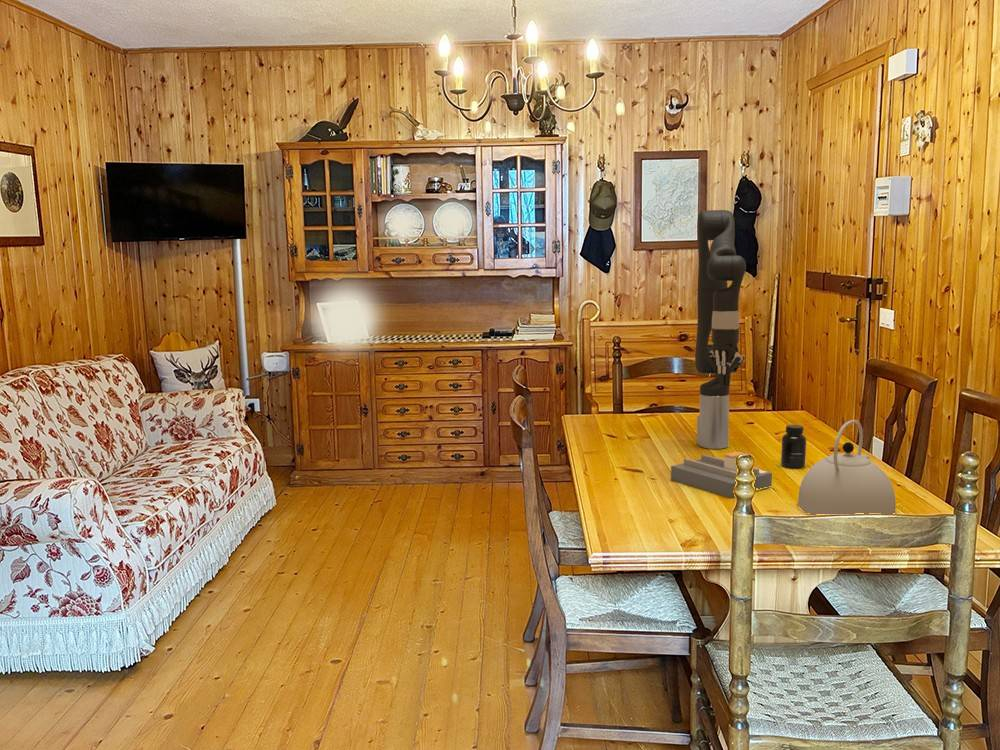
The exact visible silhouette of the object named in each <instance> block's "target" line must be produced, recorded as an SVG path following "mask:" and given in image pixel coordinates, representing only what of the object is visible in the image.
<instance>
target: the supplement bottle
mask: <svg viewBox="0 0 1000 750" xmlns="http://www.w3.org/2000/svg"><path fill="white" fill-rule="evenodd" d="M806 455H807V438H806V436H805V435H804V426H802V425H799V424H787V425H786V426H785V434H783V435H782V437H781V455H780V456H781V457H780V463H781V464H780V465H781V466H782V467H784V468H787V467H788V468H789V469H803V468H804V467H805V466H806ZM802 467H803V468H802ZM788 468H787V469H788Z"/></svg>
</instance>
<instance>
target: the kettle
mask: <svg viewBox="0 0 1000 750" xmlns="http://www.w3.org/2000/svg"><path fill="white" fill-rule="evenodd" d="M852 424H856V425H857V427H858V434H859V437H858V438H859V439H858V448H857V454H854V453H853V451H854V449H855V447H854V444H853V443H852V442H847V441H846V442H845V443H844V444H843V445H842V447H841V448H842V451H843V452H844V453H838V451H839V445H840V441H841V440H840V439H841V437H842V435H843V432H844V430H845V429H846V428H847V427H848V426H850V425H852ZM863 439H864V430H863V427H862V424H861V422H860V421H859V420H857V419H852V420H848V421H846V422H845V423H843V425H842V426H841V427H840V429H839V430H838V433H837V435H836V438H835V442H834V447H833V454H830V455H828V456H826V457H824V458H822V459H819V461H817V462H815V463H814V464H813V465H812V466H811V467H810V468H809V469H808V471H806V473H805V475H804V476H803V478H802V480H801V482H800V486H799V489H798V490H799V491H798V498H797V499H798V500H797V501H798V502H797V506H798V505H799V507H800V508H801V509H802V510H803V511H804V512H805V513H810V514H806V515H808V516H810V515H816V514H855V513H864V514H869V513H881V514H893V513H895V512H896V494H895V490H894V486H893V484H892V481H891V480H890V478H889V477H888V475H887V474H886V473H885V472H884V470H883V468H881V467H879V465H877V464H876V463H875V462H873V461H871V459H870V455H868V454H862V450H863V442H864V440H863ZM804 512H803V513H804ZM805 513H804V514H805Z"/></svg>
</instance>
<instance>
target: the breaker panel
mask: <svg viewBox="0 0 1000 750" xmlns="http://www.w3.org/2000/svg"><path fill="white" fill-rule="evenodd" d="M700 456H701V457H700V458H699V459H690V458H683V462H682V463H679V464H673V465H671V466H670V481H674V482H677V483H681V484H683V485H687V486H689V487H694V488H696V489H697V488H698V489H700V490H702V491H707V492H709V493H713V494H716V495H719V496H722V497H726V498H729V499H735V497H734V493H733V490H734V487H735V484H736V481H735V476H736V474H737V472H734V471H731V470H727V469H724V458H723V459H722V458H719V457H716V456H711V455H709V454H708V455H707V454H705V453H704V454H701V455H700ZM753 472H754V475H755V477H756V480H755V483H754V487H755V490H756V488H758V489H760V488H764V487H769V486H772V484H773V481H772V480H773V479H772V478H773V472H770V471H766V470H764V469H763V470H762V469H760V468H757V467H754V469H753Z"/></svg>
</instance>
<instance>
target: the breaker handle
mask: <svg viewBox="0 0 1000 750" xmlns="http://www.w3.org/2000/svg"><path fill="white" fill-rule="evenodd" d="M743 454H746V453H745V452H740V451H733V452H730V453H729V452H728V453H725V454H724V455H723V456H724V457H723V460H724V469H727V470H731V471H734V472H737V467H736V463H735V461H736V457H737V456H739V455H743Z"/></svg>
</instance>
